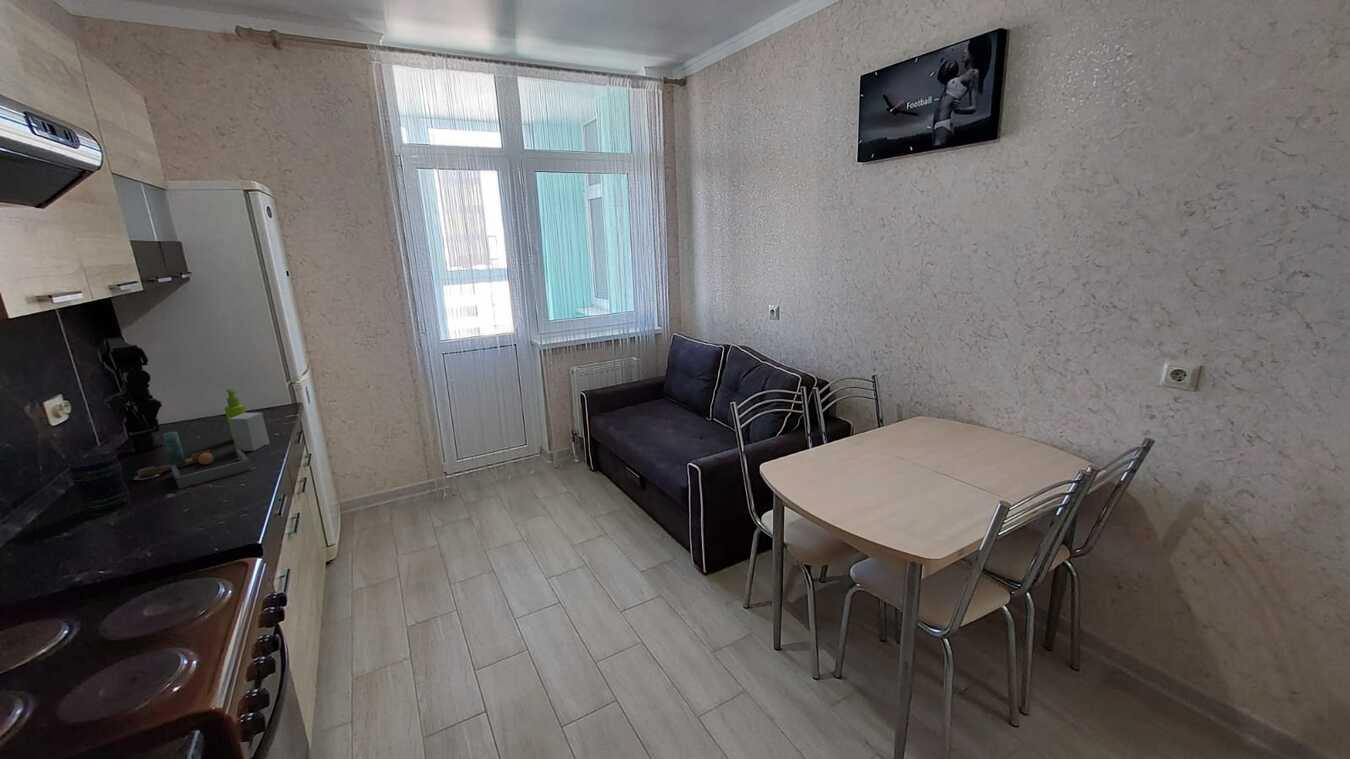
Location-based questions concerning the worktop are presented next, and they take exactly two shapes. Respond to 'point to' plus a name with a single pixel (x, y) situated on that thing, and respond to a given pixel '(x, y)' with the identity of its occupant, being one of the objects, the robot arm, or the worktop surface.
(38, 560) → the worktop surface
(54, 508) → the worktop surface
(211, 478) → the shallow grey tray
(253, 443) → the supplement box
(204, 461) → the ball
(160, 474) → the pivot base
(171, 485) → the worktop surface
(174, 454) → the lever
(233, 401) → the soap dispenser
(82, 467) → the storage jar
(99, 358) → the robot arm
